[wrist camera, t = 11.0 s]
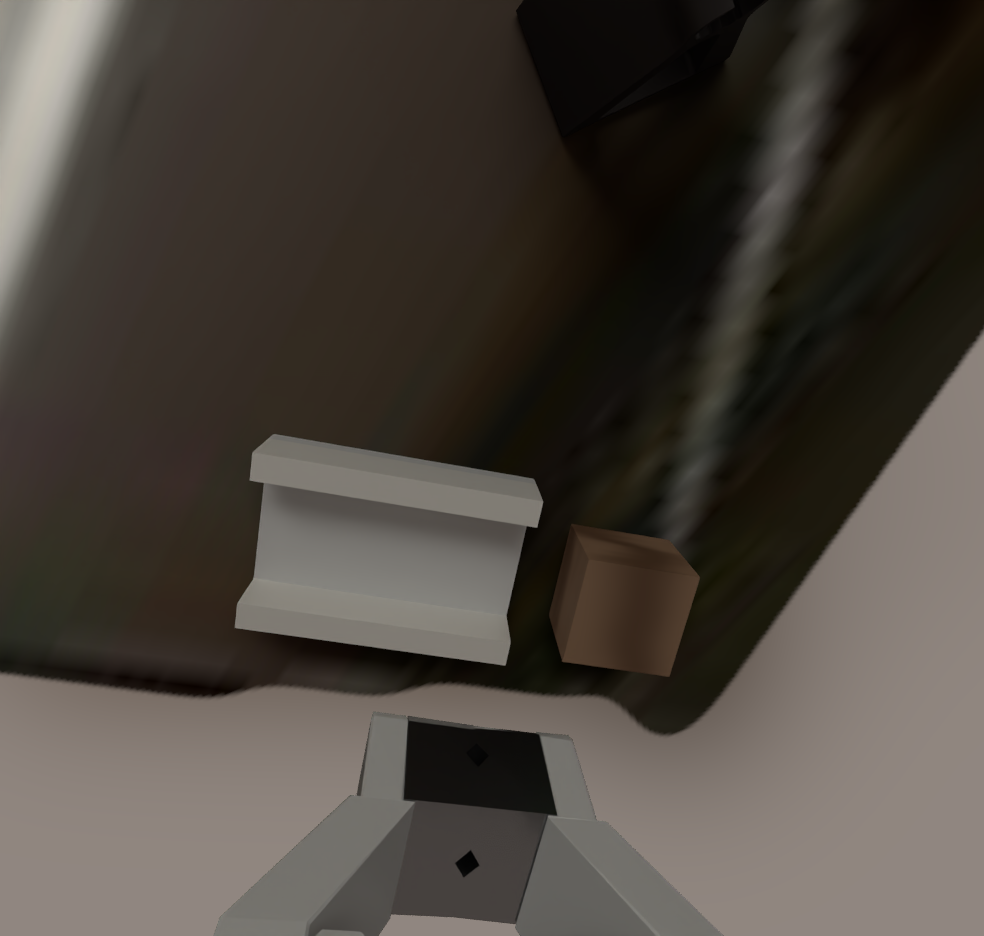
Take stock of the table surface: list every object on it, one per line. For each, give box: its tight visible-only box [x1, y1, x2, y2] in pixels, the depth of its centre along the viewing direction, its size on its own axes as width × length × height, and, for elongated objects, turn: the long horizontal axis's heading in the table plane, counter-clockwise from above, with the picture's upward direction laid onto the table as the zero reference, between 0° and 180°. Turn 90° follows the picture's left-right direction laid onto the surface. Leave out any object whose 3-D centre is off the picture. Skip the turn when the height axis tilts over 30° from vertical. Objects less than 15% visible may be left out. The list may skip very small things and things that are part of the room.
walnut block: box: [549, 524, 700, 677], centre depth 36 cm, size 6×6×5 cm
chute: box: [235, 434, 543, 665], centre depth 36 cm, size 15×10×4 cm, turn 79°
